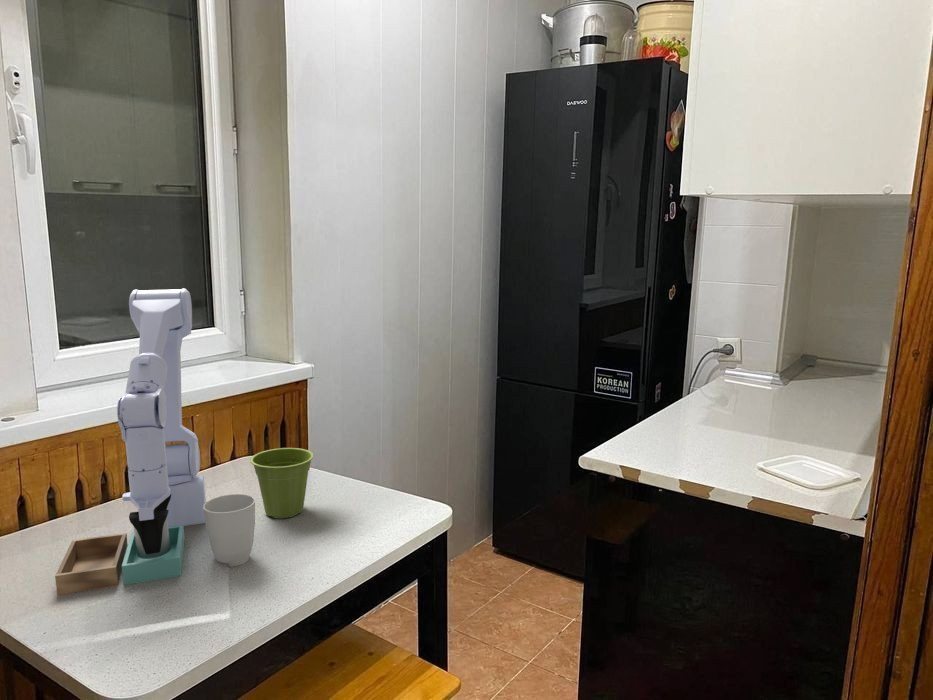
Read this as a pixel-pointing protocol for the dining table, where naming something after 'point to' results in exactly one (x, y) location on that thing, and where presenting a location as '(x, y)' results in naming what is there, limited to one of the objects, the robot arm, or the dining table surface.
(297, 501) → the plant pot
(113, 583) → the walnut bin
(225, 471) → the dining table surface
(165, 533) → the white rounded cube
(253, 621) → the dining table surface
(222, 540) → the cup
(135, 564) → the teal bin
